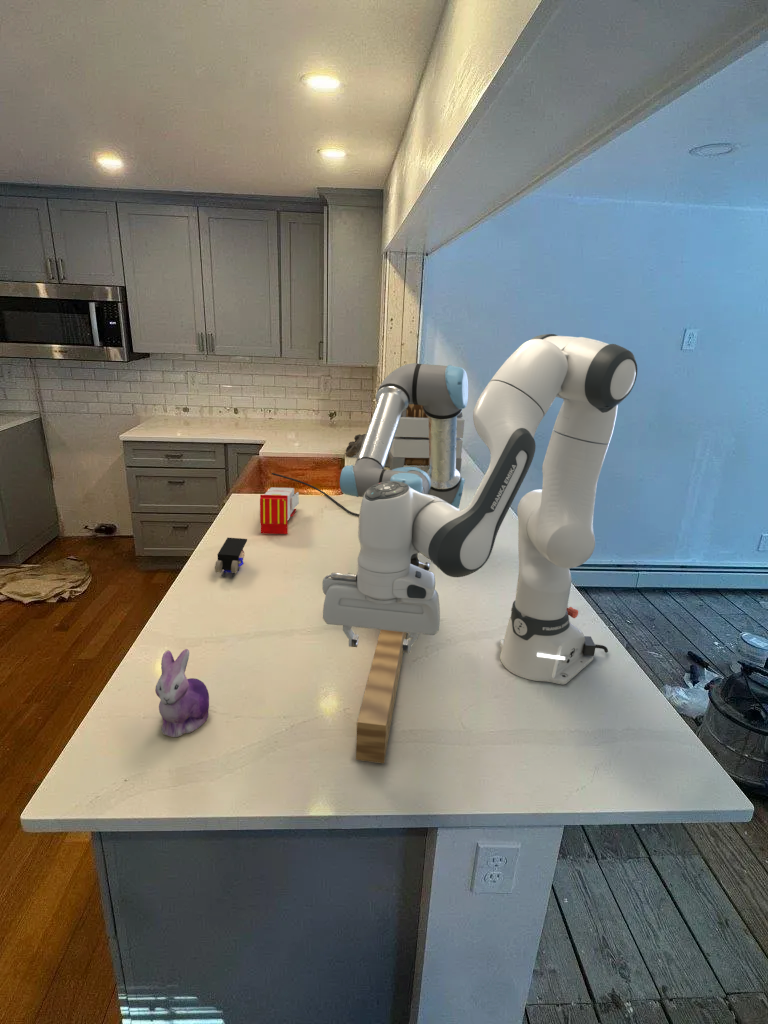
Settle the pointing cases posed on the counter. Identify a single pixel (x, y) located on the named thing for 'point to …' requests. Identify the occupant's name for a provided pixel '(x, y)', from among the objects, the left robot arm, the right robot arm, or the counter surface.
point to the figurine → (180, 697)
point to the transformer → (417, 440)
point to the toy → (277, 510)
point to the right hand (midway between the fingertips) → (379, 648)
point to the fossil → (355, 445)
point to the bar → (379, 698)
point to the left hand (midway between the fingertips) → (397, 624)
